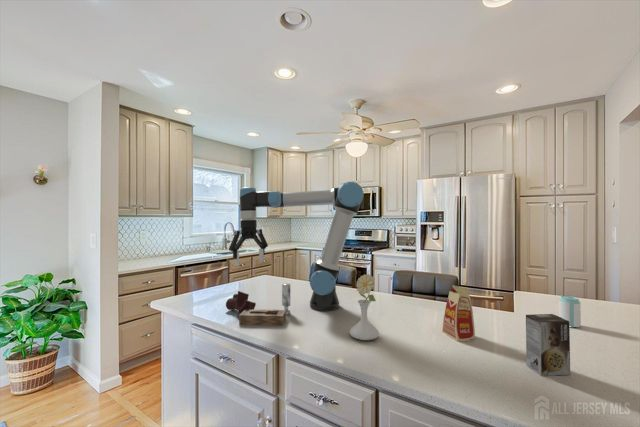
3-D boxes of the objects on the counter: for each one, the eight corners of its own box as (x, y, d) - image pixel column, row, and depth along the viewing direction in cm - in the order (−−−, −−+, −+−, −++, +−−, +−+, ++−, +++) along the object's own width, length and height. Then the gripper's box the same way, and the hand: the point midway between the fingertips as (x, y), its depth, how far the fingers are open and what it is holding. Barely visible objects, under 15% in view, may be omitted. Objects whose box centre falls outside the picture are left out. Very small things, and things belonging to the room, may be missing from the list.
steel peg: (291, 312, 142) (291, 283, 142) (289, 315, 138) (289, 285, 138) (282, 312, 142) (282, 283, 142) (281, 314, 138) (281, 285, 138)
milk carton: (457, 341, 109) (457, 288, 109) (441, 332, 118) (440, 282, 118) (477, 338, 112) (477, 286, 112) (459, 329, 120) (459, 281, 121)
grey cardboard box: (553, 364, 92) (552, 313, 93) (571, 375, 86) (571, 320, 86) (524, 365, 92) (524, 313, 92) (541, 376, 86) (540, 321, 86)
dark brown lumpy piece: (245, 311, 132) (250, 289, 137) (222, 313, 141) (228, 292, 146) (255, 314, 136) (259, 292, 141) (233, 315, 146) (237, 295, 150)
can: (557, 321, 130) (557, 294, 130) (578, 324, 126) (578, 296, 127) (560, 326, 124) (560, 298, 124) (582, 329, 120) (582, 300, 120)
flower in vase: (344, 333, 117) (344, 270, 117) (369, 329, 121) (369, 269, 121) (360, 347, 104) (360, 277, 105) (387, 342, 108) (387, 275, 109)
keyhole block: (285, 318, 133) (285, 309, 133) (282, 325, 125) (282, 316, 125) (244, 318, 134) (244, 309, 134) (239, 324, 126) (239, 315, 126)
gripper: (265, 219, 152) (266, 259, 152) (220, 220, 134) (221, 266, 134) (274, 218, 147) (275, 261, 147) (228, 220, 129) (229, 268, 129)
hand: (249, 263), depth 140 cm, fingers open, 13 cm apart
